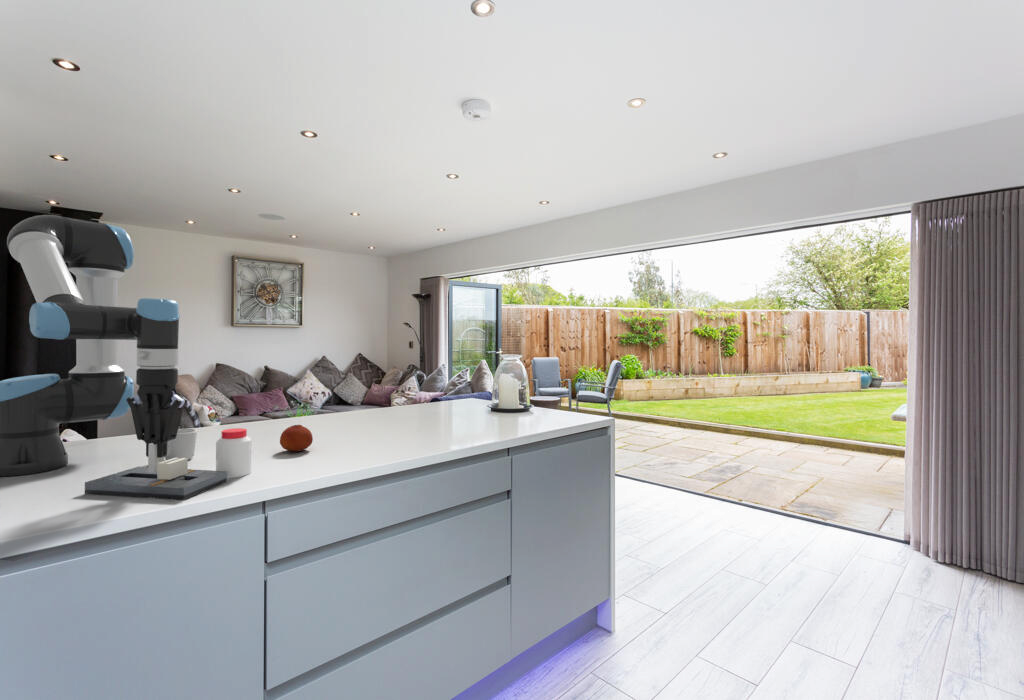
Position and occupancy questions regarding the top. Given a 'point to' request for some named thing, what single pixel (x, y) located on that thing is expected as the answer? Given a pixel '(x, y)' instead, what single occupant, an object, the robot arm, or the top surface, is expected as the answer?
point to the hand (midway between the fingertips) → (156, 471)
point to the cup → (182, 444)
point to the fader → (172, 469)
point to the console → (155, 484)
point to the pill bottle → (234, 452)
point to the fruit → (296, 438)
